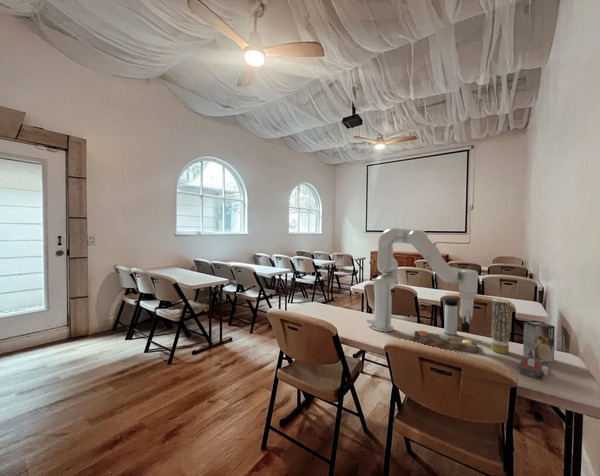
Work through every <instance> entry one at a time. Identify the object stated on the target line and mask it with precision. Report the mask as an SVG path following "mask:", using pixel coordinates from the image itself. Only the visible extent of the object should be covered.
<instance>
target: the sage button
mask: <svg viewBox="0 0 600 476" xmlns="http://www.w3.org/2000/svg"><path fill="white" fill-rule="evenodd" d="M439 339H441V340H448V341H449V335H446V334H445V333H439Z"/></svg>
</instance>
